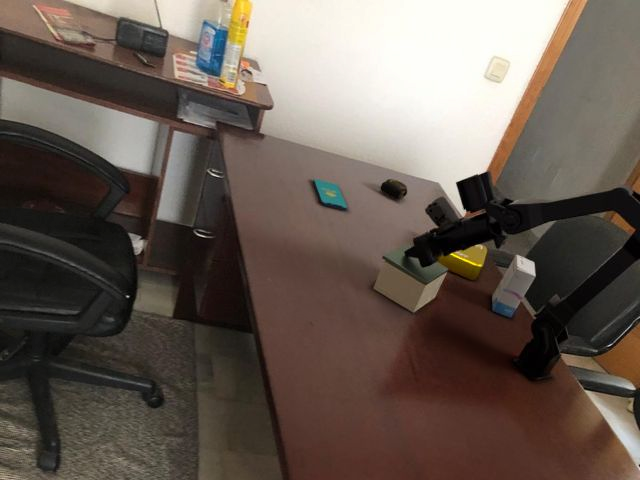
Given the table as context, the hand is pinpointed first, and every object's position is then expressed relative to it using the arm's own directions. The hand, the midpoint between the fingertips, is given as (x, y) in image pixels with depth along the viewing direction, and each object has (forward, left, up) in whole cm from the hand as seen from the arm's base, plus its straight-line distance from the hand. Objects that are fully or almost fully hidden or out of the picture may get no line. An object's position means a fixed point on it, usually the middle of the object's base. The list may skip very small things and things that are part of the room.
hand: (405, 253), depth 143 cm
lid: (-3, -1, -1) cm, 3 cm away
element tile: (+10, -28, -8) cm, 31 cm away
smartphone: (+42, -9, -8) cm, 44 cm away
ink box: (-11, -27, -8) cm, 30 cm away
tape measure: (+44, -33, -8) cm, 56 cm away
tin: (-3, -1, -8) cm, 9 cm away
